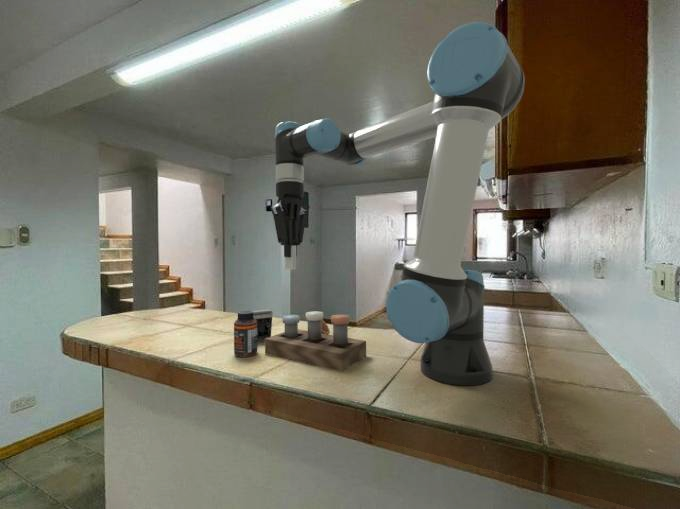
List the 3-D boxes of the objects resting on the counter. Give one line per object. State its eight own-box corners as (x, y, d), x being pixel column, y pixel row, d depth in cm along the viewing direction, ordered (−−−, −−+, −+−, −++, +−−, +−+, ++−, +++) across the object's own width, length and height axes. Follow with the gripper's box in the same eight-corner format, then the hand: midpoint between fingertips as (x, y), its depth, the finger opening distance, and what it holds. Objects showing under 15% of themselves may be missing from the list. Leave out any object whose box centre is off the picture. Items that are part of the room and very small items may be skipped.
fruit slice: (325, 341, 97) (325, 325, 97) (304, 340, 99) (303, 324, 99) (332, 334, 106) (331, 319, 106) (312, 333, 107) (311, 318, 107)
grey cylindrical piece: (303, 339, 91) (302, 315, 90) (292, 343, 87) (292, 319, 87) (290, 336, 93) (290, 314, 93) (279, 340, 89) (279, 317, 89)
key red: (353, 341, 82) (352, 315, 82) (343, 346, 78) (343, 319, 78) (337, 338, 84) (337, 313, 84) (327, 343, 81) (327, 317, 80)
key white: (326, 336, 86) (326, 312, 86) (316, 341, 82) (316, 315, 82) (312, 334, 89) (312, 310, 89) (302, 338, 85) (301, 313, 85)
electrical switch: (270, 336, 104) (270, 307, 103) (274, 342, 100) (275, 312, 98) (239, 340, 100) (239, 310, 99) (243, 346, 95) (243, 315, 94)
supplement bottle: (229, 355, 85) (228, 312, 85) (245, 349, 91) (244, 308, 90) (246, 359, 83) (245, 314, 82) (262, 352, 88) (261, 310, 88)
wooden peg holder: (366, 356, 84) (366, 340, 84) (341, 371, 74) (341, 353, 74) (294, 342, 97) (294, 328, 97) (265, 353, 87) (264, 338, 87)
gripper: (294, 187, 96) (295, 267, 97) (262, 180, 85) (263, 270, 86) (315, 184, 92) (316, 268, 93) (283, 176, 81) (285, 271, 82)
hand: (290, 269), depth 89 cm, fingers closed
